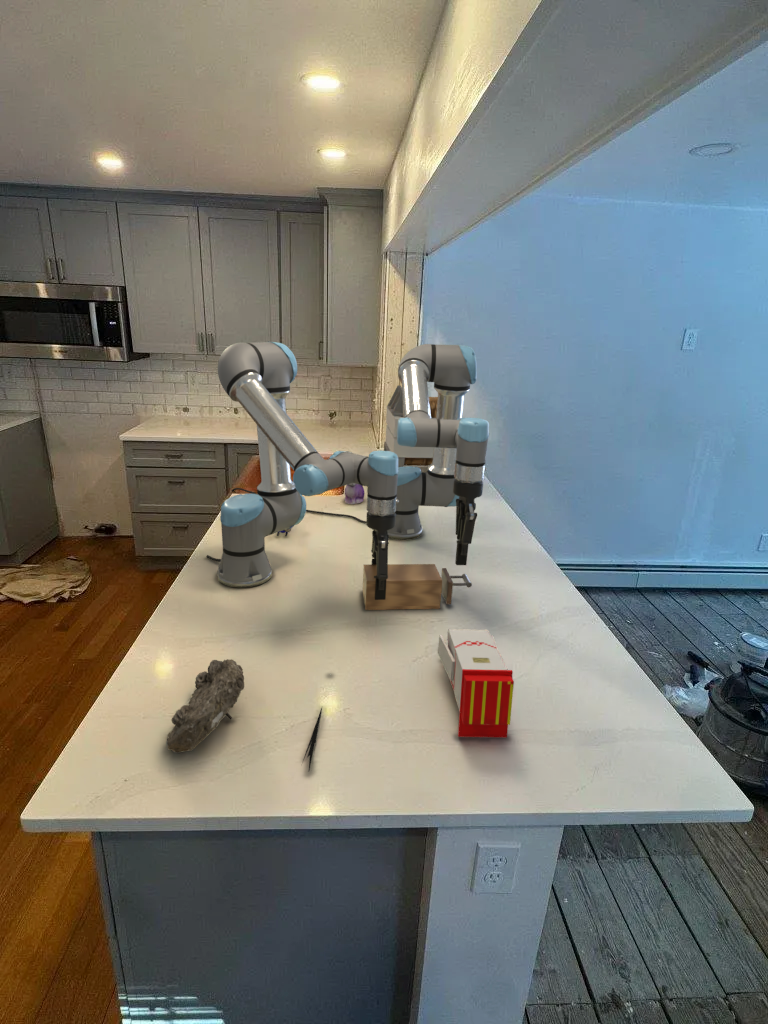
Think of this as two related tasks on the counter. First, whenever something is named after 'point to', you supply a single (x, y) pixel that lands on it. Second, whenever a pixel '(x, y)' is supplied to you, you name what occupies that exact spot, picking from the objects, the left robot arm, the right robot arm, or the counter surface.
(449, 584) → the drawer
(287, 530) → the figurine character
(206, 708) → the fossil
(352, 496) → the figurine
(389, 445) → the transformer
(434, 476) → the right robot arm
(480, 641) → the toy
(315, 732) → the feather
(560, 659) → the counter surface
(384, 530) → the left robot arm
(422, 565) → the cabinet
